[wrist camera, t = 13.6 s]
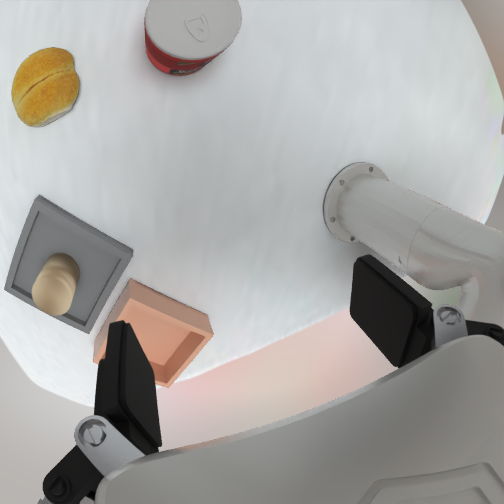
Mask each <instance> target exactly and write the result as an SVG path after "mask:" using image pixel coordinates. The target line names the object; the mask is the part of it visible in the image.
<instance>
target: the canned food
mask: <svg viewBox="0 0 504 504" xmlns="http://www.w3.org/2000/svg"><path fill="white" fill-rule="evenodd" d="M241 21H242V14H241V8H240V5H239V3H238V1H237V0H150V2H149V4H148V6H147V9H146V13H145V21H144V25H145V44H146V52H147V55H148V58H149V59H150V61H151V63H152V64H153V65H154V66H155V67H156V68H158V69H159V70H160V71H163V72H165V73H167V74H171V75H180V76H181V75H188V74H191V73H194V72H196V71H198V70H200V69H201V68H203V67H204V66H205V65H207V64H208V63H209V62H210V61H211V60H213V59H214V58H215V57H217V56H218V55H219V54H220V53H222V52H223V51H224V50H225V49H226V48H227V47H228V46H229V45H230V44H231V43H232V42H233V41H234V39H235V38H236V36H237V34H238V33H239V30H240V27H241Z"/></svg>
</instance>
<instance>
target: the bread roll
mask: <svg viewBox="0 0 504 504" xmlns="http://www.w3.org/2000/svg"><path fill="white" fill-rule="evenodd" d="M78 92H79V78H78V76H77V74H76V72H75V70H74V62H73V57H72V55H71V54H70V53H69V52H68V51H66V50H64V49H60V48H55V47H51V48H46V49H42V50H39V51H37V52H35V53H33V54H31V55H30V56H29V57H28V58H26V59H25V60H24V62H23V63H22V64H21V65H20V67H19V68H18V70H17V72H16V75H15V77H14V81H13V85H12V92H11V94H12V101H13V104H14V107H15V109H16V112H17V115H18V117H19V118H20V119H21V120H22V121H23V122H24V123H25V124H26V125H28V126H31V127H42V126H44V125H47V124H49V123H51V122H53V121H55V120H56V119H58V118H60V117H61V116H63V115H64V114H66V113H67V112H69V111H70V110H71V109H72V107H73V104H74V102H75V100H76V98H77V95H78Z"/></svg>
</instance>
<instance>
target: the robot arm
mask: <svg viewBox="0 0 504 504" xmlns="http://www.w3.org/2000/svg"><path fill="white" fill-rule="evenodd" d="M324 217H325V221H326V225H327V227H328V228H329V230H330V232H331V233H332V234H333V235H334V236H336V237H337V238H338V239H340V240H342V241H344V242H348V243H356V242H360V241H361V242H362V243H364V244H365V245H367V246H368V247H369V248H371V249H372V250H374V251H375V252H377V253H378V254H379V255H381V256H382V257H384V258H385V259H386V260H388V261H389V262H390V263H392V264H393V265H395V266H396V267H397V268H399V269H400V270H401V271H403V272H404V273H405V274H407V275H408V276H409V277H411V278H412V279H413V280H415V281H416V282H417V283H419V284H420V285H422V286H423V287H426V288H428V289H432V290H444V289H449V288H454V287H457V286H461V288H462V291H461V295H460V297H459V299H458V302H457V305H456V307H455V306H453V305H449V304H442V305H439V306H437V307H436V308H435V309H434V310H433V309H432V308H431V306H432V303H430V302H429V301H428V300H427V299H426V298H424V297H423V296H422V295H421V294H420V293H418V292H417V291H416V290H415V289H414V288H412V287H411V286H410V285H409V284H407V283H406V282H405V281H404V280H402V279H401V278H400V277H399V276H398V275H396V274H395V273H394V272H392V271H391V270H390V269H389V268H387V267H386V266H385V265H384V264H382V263H381V262H380V261H378V260H377V259H376V258H375V257H373V256H372V255H370V254H368V255H365V256H362V257H359V258H357V260H356V262H355V263H354V268H353V281H352V292H351V302H350V315H351V317H352V318H353V320H354V321H355V322H356V323H357V324H358V325H359V326H360V328H361V329H362V330H363V331H364V332H365V333H366V335H367V336H368V337H369V338H370V339H371V340H372V342H373V343H374V344H375V345H376V346H377V347H378V349H379V350H380V351H381V352H382V353H383V354H384V355H385V357H386V358H387V359H388V360H389V361H390V363H391V364H392V365H393V366H395V367H398V368H399V369H397V370H396V371H394V372H392V373H390V374H388V375H386V376H384V377H382V378H380V379H378V380H376V381H374V382H372V383H370V384H368V385H366V386H364V387H361V388H360V389H357V390H355V391H353V392H351V393H348V394H346V395H344V396H342V397H339V398H337V399H335V400H332V401H330V402H328V403H325V404H323V405H320V406H318V407H315V408H313V409H310V410H307V411H305V412H302V413H300V414H297V415H294V416H291V417H288V418H285V419H283V420H280V421H277V422H274V423H271V424H268V425H265V426H262V427H258V428H255V429H251V430H248V431H245V432H241V433H238V434H234V435H230V436H227V437H222V438H219V439H214V440H210V441H207V442H202V443H198V444H194V445H189V446H184V447H179V448H175V449H171V450H167V451H162V452H159V450H158V447H161V446H162V440H161V433H160V425H159V416H158V407H157V396H156V385H155V375H154V371H153V368H152V366H151V364H150V362H149V361H148V359H147V357H146V355H145V353H144V351H143V349H142V347H141V345H140V343H139V341H138V339H137V337H136V334H135V332H134V330H133V328H132V326H131V324H130V323H125V321H124V320H121V321H116V322H112V323H110V324H109V329H108V337H107V344H106V353H105V359H100V361H99V364H98V373H97V383H96V394H95V407H94V415H93V416H89V417H86V418H85V419H83V420H81V422H79V424H78V425H77V427H76V429H75V433H74V438H75V442H76V444H77V445H76V446H75V447H74V448H73V449H72V450H71V451H70V452H69V453H68V454H67V455H66V456H65V457H64V458H63V459H62V460H61V461H60V462H59V463H58V464H57V465H56V466H55V467H54V468H53V469H52V470H51V471H50V472H49V473H48V474H47V475H46V477H45V478H44V482H43V492H44V494H45V497H44V499H43V500H42V499H40V500H39V502H38V504H504V232H502V231H499V230H497V229H494V228H492V227H489V226H487V225H484V224H482V223H480V222H478V221H476V220H473V219H471V218H469V217H467V216H465V215H463V214H460V213H458V212H456V211H454V210H452V209H450V208H448V207H446V206H444V205H442V204H440V203H437V202H435V201H433V200H431V199H429V198H426V197H424V196H422V195H420V194H417V193H415V192H413V191H410V190H408V189H406V188H403V187H401V186H398V185H396V184H394V183H391V182H389V181H388V178H387V176H386V175H385V173H384V172H383V171H382V170H381V169H380V168H379V167H377V166H375V165H373V164H370V163H365V162H361V163H355V164H352V165H350V166H348V167H346V168H345V169H343V170H342V171H341V172H340V173H339V174H338V175H337V176H336V177H335V179H334V180H333V182H332V183H331V185H330V187H329V189H328V192H327V194H326V198H325V202H324Z"/></svg>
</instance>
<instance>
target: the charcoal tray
mask: <svg viewBox="0 0 504 504" xmlns="http://www.w3.org/2000/svg"><path fill="white" fill-rule="evenodd" d="M55 253H65V254H67V255H69V256H71V257H72V258H73V259H74V260H75V261H76V262H77V264H78V266H79V269H80V277H79V280H78V283H77V286H76V289H75V293H74V296H73V299H72V302H71V306H70V308H69V310H68V311H67V312H66V313H64V314H62V315H58V316H54V315H50V316H52V317H54V318H56V319H58V320H60V321H62V322H64V323H66V324H68V325H70V326H72V327H74V328H77V329H79V330H81V331H83V332H85V333H87V334H89V333H90V331H91V329H92V327H93V325H94V323H95V321H96V320H97V318H98V316H99V314H100V312H101V310H102V308H103V307H104V305H105V303H106V301H107V299H108V298H109V296H110V294H111V292H112V290H113V289H114V287H115V285H116V284H117V282H118V280H119V278H120V277H121V275H122V273H123V272H124V270H125V268H126V267H127V265H128V263H129V262H130V260H131V258H132V257H133V250H132V249H130V248H129V247H127V246H125V245H123V244H121V243H120V242H118V241H116V240H114V239H113V238H111V237H109V236H107V235H106V234H104V233H102V232H100V231H99V230H97V229H95V228H94V227H92V226H90V225H88V224H87V223H85V222H83V221H82V220H80V219H78V218H77V217H75V216H73V215H72V214H70V213H68V212H67V211H65V210H63V209H62V208H60V207H58V206H57V205H55V204H54V203H52V202H50V201H49V200H47V199H46V198H44V197H42V196H41V195H39V196H38V197H37V198H36V199H35V200H34V202H33V205H32V207H31V209H30V212H29V214H28V217H27V219H26V222H25V224H24V227H23V230H22V233H21V235H20V238H19V241H18V244H17V247H16V250H15V253H14V256H13V259H12V263H11V266H10V269H9V273H8V276H7V280H6V284H5V288H4V290H5V291H7V292H9V293H10V294H12V295H14V296H16V297H17V298H19V299H21V300H22V301H24V302H26V303H28V304H30V305H31V306H33V307H35V308H37V309H39V308H38V307H37V305H36V304H35V302H34V300H33V297H32V287H33V285H34V283H35V281H36V279H37V277H38V275H39V274H40V272H41V270H42V268H43V266H44V264H45V263H46V261H47V259H48V258H49V257H50V256H51V255H53V254H55ZM39 310H40V309H39ZM41 311H42V310H41ZM44 313H45V312H44ZM46 314H47V313H46ZM48 315H49V314H48Z"/></svg>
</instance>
